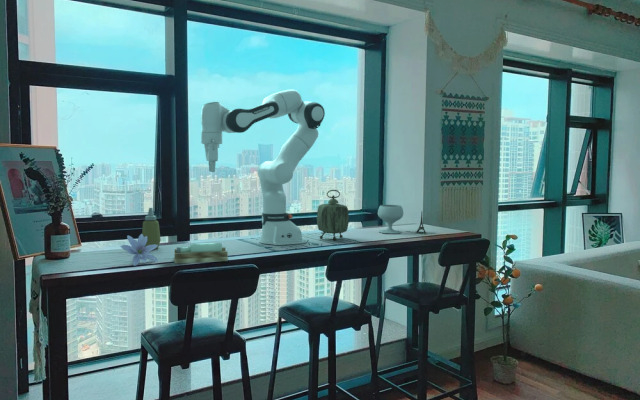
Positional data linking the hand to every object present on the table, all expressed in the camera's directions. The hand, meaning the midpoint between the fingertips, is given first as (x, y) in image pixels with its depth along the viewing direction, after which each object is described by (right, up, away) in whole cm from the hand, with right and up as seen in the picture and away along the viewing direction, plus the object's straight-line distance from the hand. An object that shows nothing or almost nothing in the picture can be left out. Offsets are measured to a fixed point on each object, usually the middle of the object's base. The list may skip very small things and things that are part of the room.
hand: (212, 171), depth 211 cm
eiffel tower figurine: (+103, -31, +60) cm, 123 cm away
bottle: (-1, -34, -18) cm, 39 cm away
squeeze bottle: (-28, -34, +3) cm, 44 cm away
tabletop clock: (+54, -32, +32) cm, 70 cm away
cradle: (0, -36, -18) cm, 40 cm away
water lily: (-22, -37, -25) cm, 49 cm away
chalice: (+86, -31, +57) cm, 108 cm away
